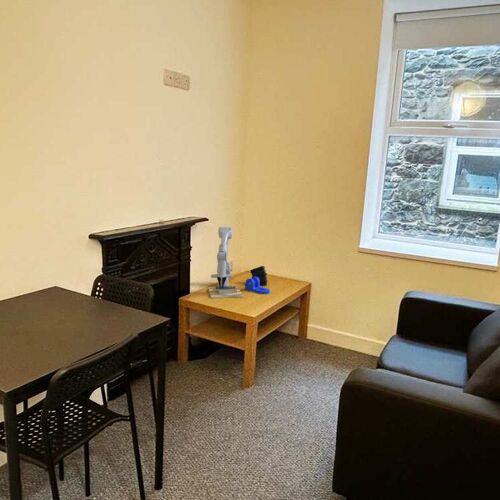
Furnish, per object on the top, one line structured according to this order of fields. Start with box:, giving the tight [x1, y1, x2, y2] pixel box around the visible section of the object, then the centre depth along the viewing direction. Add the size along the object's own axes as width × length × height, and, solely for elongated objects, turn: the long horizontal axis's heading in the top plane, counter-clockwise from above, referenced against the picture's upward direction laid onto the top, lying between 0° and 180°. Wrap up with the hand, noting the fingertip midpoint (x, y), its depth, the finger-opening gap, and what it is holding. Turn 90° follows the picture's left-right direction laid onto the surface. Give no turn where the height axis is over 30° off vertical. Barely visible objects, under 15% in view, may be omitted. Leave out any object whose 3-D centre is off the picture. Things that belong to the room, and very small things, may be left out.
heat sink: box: [217, 285, 233, 294], centre depth 314 cm, size 10×10×3 cm
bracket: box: [244, 276, 271, 295], centre depth 322 cm, size 18×8×9 cm, turn 54°
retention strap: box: [214, 285, 237, 290], centre depth 314 cm, size 4×15×2 cm, turn 101°
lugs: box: [212, 285, 237, 293], centre depth 314 cm, size 6×17×4 cm, turn 101°
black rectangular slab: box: [249, 265, 269, 287], centre depth 337 cm, size 4×13×15 cm, turn 66°
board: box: [208, 286, 244, 299], centre depth 314 cm, size 20×22×1 cm
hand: (221, 287), depth 313 cm, fingers closed on retention strap
